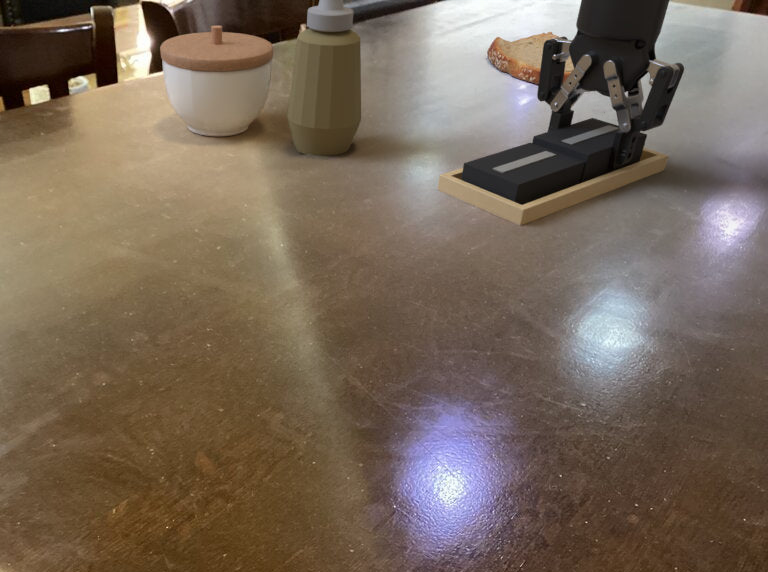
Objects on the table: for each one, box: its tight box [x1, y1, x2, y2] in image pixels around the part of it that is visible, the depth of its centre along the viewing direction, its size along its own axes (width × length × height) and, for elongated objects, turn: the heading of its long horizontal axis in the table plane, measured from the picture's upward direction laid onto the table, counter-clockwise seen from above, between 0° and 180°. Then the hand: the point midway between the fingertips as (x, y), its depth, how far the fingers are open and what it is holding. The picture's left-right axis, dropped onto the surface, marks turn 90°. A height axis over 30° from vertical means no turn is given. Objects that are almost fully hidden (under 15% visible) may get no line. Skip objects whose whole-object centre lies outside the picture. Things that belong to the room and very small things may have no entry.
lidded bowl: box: [159, 25, 274, 137], centre depth 93 cm, size 13×13×11 cm
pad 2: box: [531, 117, 648, 184], centre depth 83 cm, size 10×6×3 cm, turn 127°
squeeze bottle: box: [286, 0, 362, 157], centre depth 85 cm, size 8×8×18 cm
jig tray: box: [437, 147, 670, 226], centre depth 82 cm, size 24×10×2 cm, turn 127°
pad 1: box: [461, 142, 585, 205], centre depth 79 cm, size 10×6×3 cm, turn 127°
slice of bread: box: [486, 31, 574, 86], centre depth 117 cm, size 18×18×4 cm
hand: (585, 156), depth 84 cm, fingers closed on pad 2, 6 cm apart
